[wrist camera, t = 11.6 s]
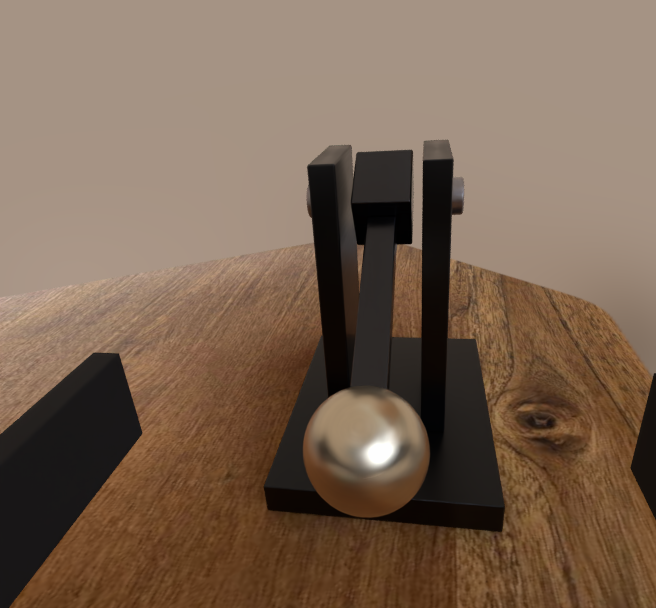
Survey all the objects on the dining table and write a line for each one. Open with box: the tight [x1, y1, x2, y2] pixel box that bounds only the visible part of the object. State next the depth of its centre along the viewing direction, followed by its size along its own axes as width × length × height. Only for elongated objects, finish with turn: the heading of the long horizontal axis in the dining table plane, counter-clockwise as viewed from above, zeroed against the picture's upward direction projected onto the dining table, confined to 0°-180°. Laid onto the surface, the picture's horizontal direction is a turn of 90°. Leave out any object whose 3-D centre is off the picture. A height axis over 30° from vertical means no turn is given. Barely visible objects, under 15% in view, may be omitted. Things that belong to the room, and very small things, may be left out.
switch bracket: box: [264, 140, 505, 532], centre depth 22 cm, size 12×9×13 cm
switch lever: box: [303, 150, 430, 518], centre depth 17 cm, size 13×4×4 cm, turn 170°
